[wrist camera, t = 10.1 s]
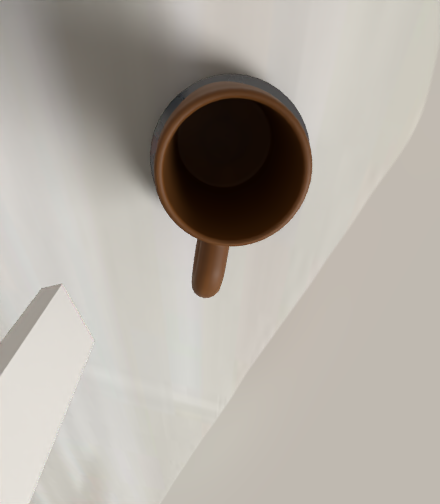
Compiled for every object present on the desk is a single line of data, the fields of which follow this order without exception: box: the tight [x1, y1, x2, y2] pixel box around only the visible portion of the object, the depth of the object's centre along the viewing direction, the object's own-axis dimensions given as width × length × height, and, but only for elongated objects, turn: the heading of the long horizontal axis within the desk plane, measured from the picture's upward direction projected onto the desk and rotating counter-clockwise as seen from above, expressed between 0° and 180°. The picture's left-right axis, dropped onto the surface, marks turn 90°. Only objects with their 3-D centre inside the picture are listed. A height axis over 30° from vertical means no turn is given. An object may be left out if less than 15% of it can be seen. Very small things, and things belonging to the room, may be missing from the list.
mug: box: [154, 81, 312, 298], centre depth 20 cm, size 12×8×9 cm, turn 168°
